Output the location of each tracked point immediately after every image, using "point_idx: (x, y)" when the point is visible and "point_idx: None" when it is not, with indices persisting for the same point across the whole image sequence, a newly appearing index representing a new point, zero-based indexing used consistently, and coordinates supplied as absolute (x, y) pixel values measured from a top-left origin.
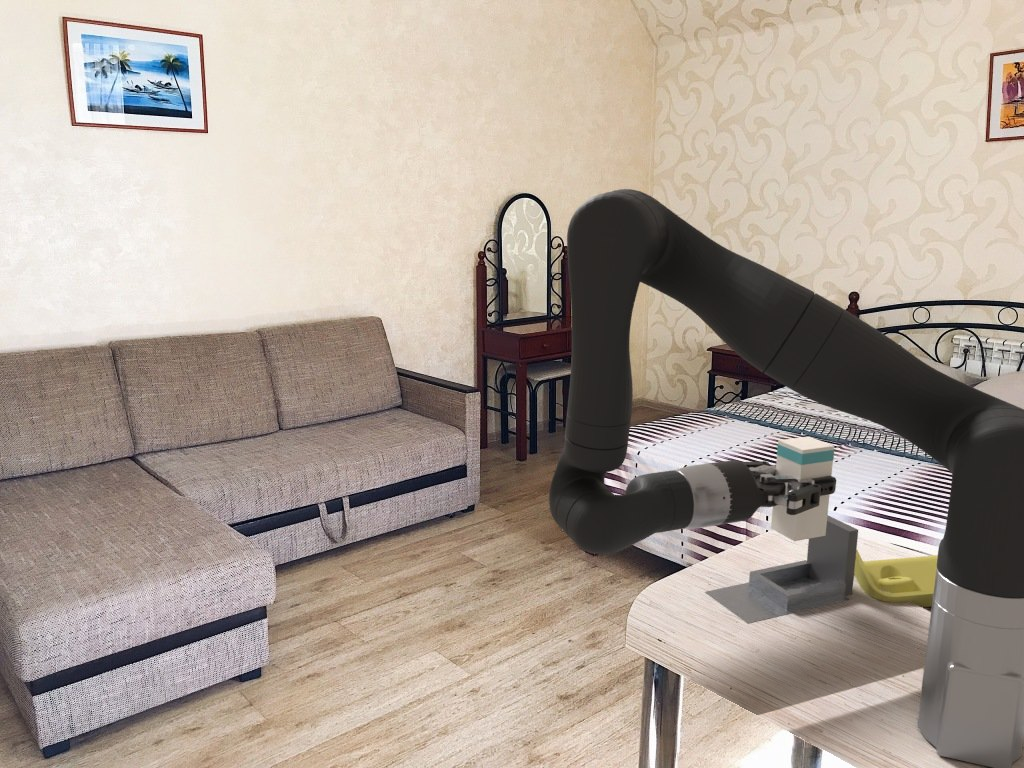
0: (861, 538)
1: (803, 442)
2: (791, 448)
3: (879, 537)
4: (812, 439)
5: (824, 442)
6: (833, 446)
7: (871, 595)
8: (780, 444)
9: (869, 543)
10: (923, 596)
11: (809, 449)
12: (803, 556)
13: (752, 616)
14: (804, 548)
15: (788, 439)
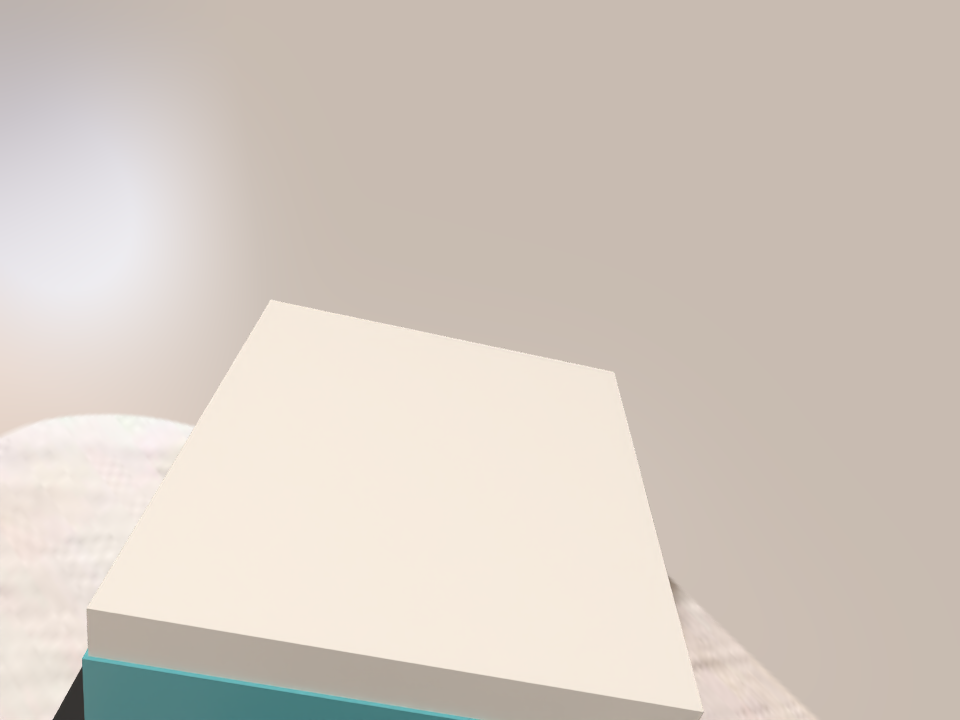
0: (134, 452)
1: (398, 454)
2: (438, 703)
3: (172, 422)
4: (361, 341)
5: (493, 349)
6: (616, 381)
7: None
8: (154, 659)
9: (172, 463)
10: None
11: (672, 605)
12: (36, 685)
13: None
14: (5, 625)
15: (182, 474)
